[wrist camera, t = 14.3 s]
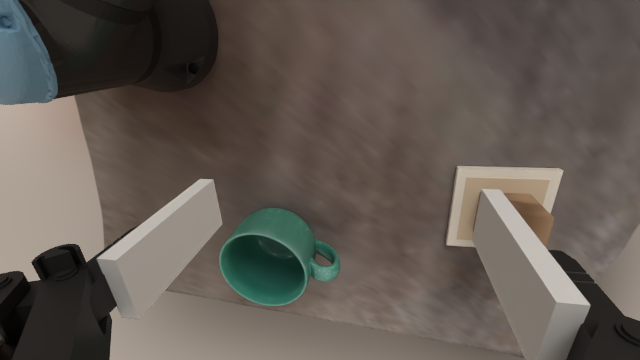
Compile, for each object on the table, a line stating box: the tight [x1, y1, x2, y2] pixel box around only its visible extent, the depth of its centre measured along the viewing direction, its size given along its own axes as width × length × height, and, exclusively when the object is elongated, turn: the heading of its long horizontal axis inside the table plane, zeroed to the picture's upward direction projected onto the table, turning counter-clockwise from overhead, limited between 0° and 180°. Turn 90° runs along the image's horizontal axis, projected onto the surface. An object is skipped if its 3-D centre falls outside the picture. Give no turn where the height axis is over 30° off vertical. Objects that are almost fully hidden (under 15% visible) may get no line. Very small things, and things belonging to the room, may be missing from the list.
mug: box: [219, 208, 340, 306], centre depth 45 cm, size 17×13×10 cm
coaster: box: [446, 166, 563, 247], centre depth 41 cm, size 12×12×1 cm
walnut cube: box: [473, 192, 554, 247], centre depth 38 cm, size 6×6×6 cm
